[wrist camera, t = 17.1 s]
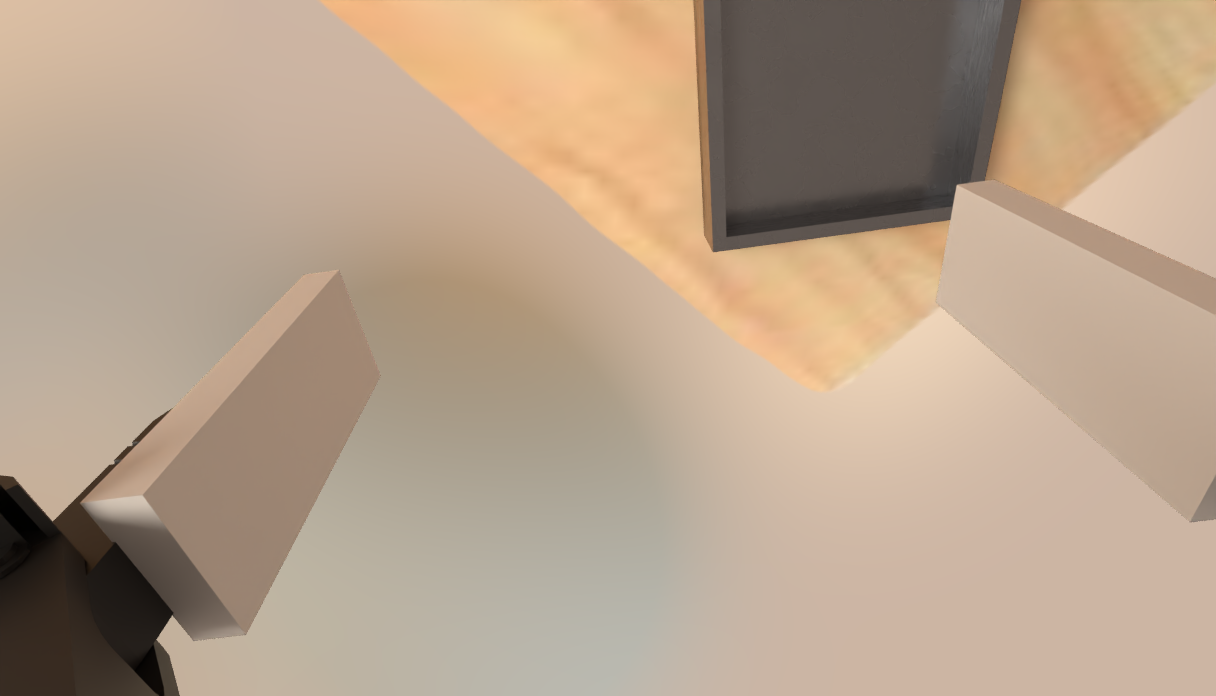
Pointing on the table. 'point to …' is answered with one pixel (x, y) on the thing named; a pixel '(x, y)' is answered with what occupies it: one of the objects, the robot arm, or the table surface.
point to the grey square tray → (843, 112)
